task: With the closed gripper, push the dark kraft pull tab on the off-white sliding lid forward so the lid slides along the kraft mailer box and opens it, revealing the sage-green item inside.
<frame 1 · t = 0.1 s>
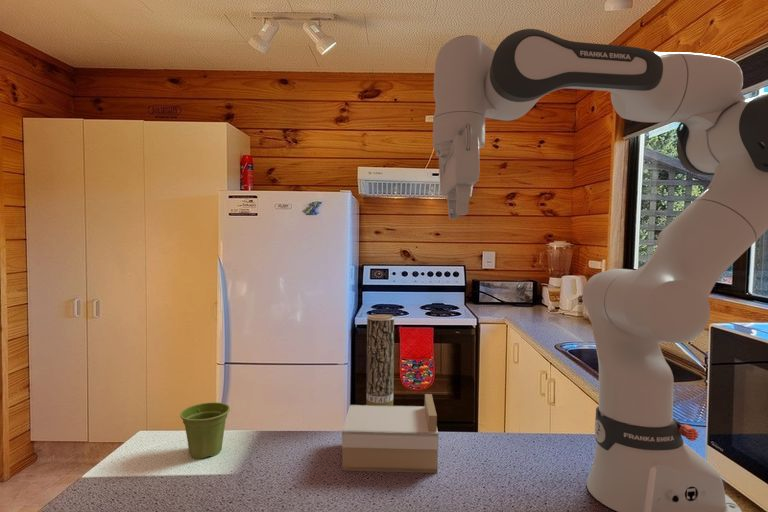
hand: (457, 217, 75), 48 cm above the worktop, fingers open, 8 cm apart
bark textured cylinder: (379, 415, 110), on the worktop
mailer box: (390, 456, 88), on the worktop
lid: (390, 418, 88), point 8 cm above the worktop, slide at 0.0 cm
plant pot: (205, 453, 89), on the worktop
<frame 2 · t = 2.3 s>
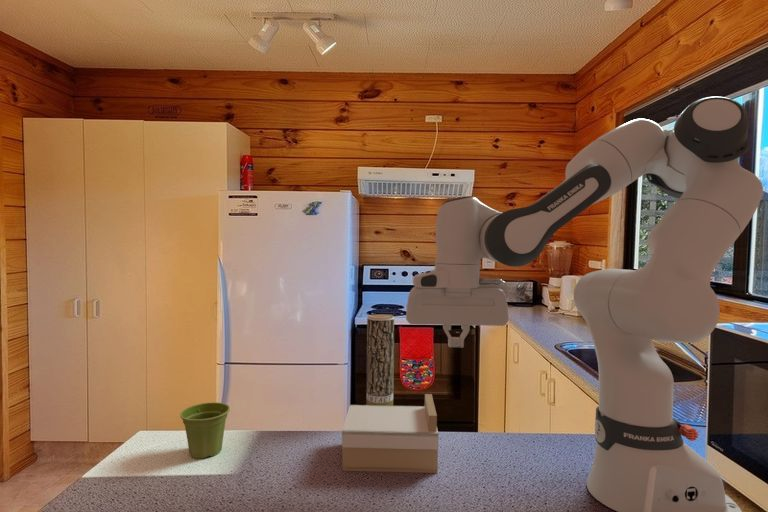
hand: (455, 346, 87), 23 cm above the worktop, fingers closed
nothing on the worktop moved.
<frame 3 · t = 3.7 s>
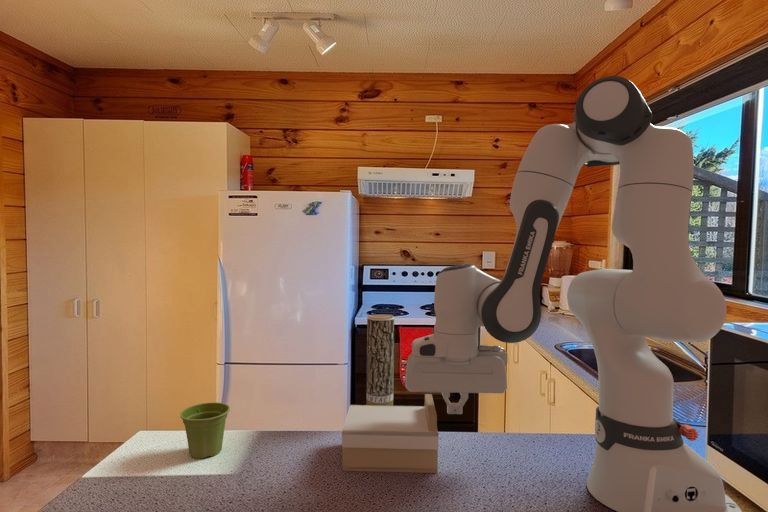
hand: (454, 413, 88), 9 cm above the worktop, fingers closed
nothing on the worktop moved.
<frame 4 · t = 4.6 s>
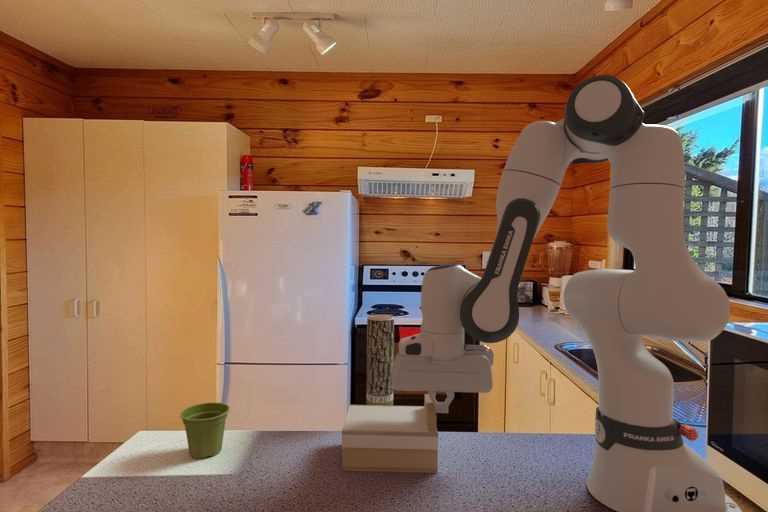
hand: (440, 412, 88), 9 cm above the worktop, fingers closed
lid: (390, 418, 88), point 8 cm above the worktop, slide at 0.1 cm, touching gripper
everything else where it was.
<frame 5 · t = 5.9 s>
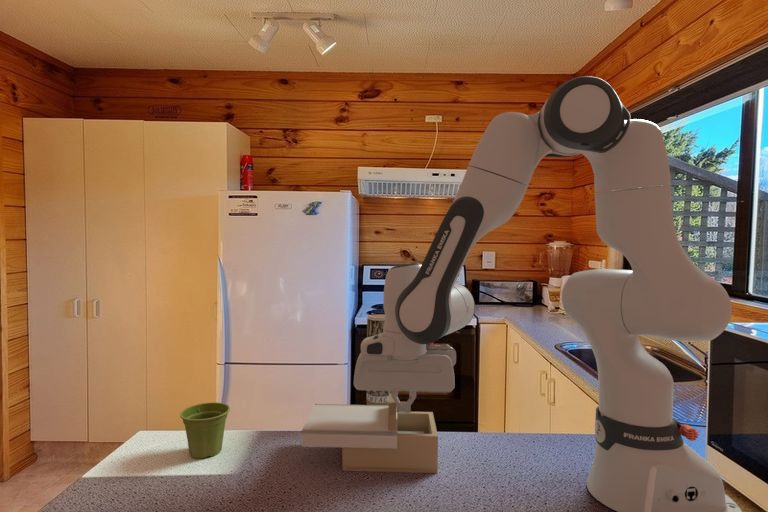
hand: (403, 411, 88), 9 cm above the worktop, fingers closed
lid: (353, 417, 88), point 8 cm above the worktop, slide at 7.7 cm, touching gripper
everything else where it was.
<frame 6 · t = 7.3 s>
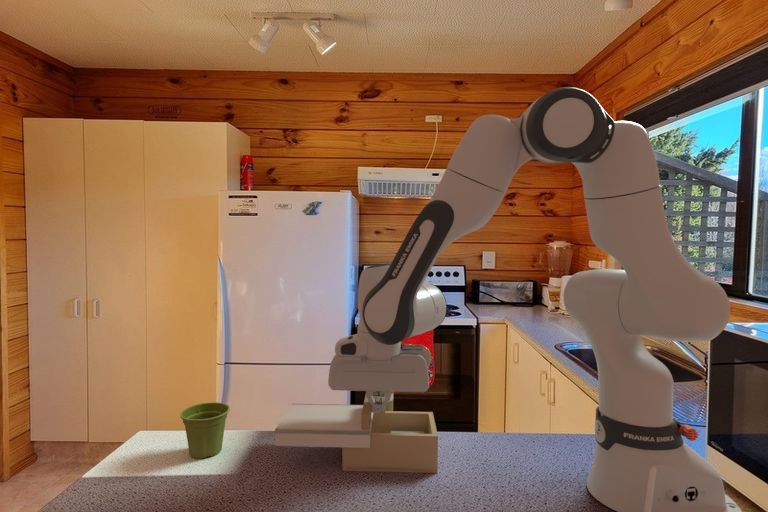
hand: (378, 411, 88), 9 cm above the worktop, fingers closed
lid: (328, 416, 88), point 8 cm above the worktop, slide at 12.7 cm, touching gripper
everything else where it was.
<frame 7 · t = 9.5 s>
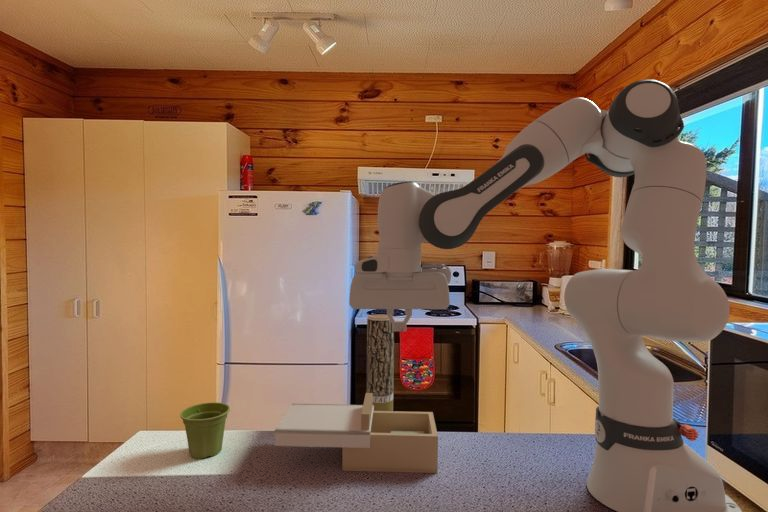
hand: (399, 330, 88), 26 cm above the worktop, fingers closed
lid: (328, 416, 88), point 8 cm above the worktop, slide at 12.8 cm
everything else where it was.
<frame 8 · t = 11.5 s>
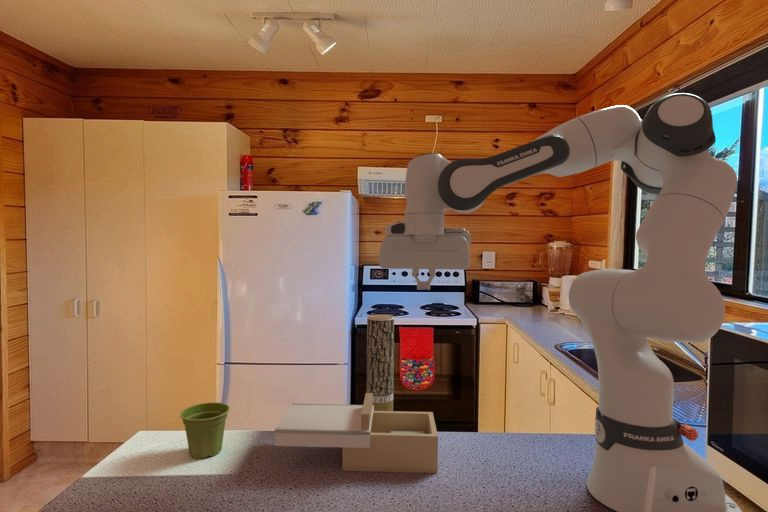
hand: (423, 289, 97), 33 cm above the worktop, fingers closed
nothing on the worktop moved.
at the end: lid slide at 12.8 cm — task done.
